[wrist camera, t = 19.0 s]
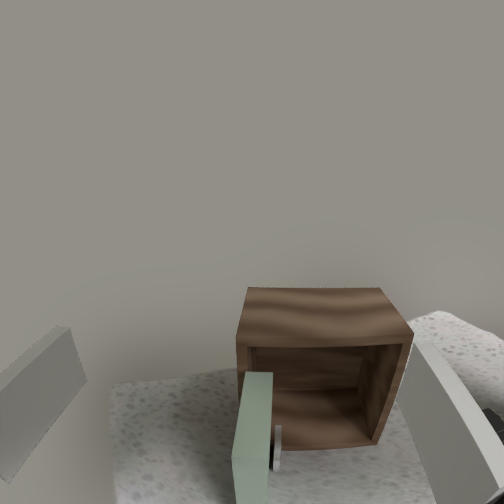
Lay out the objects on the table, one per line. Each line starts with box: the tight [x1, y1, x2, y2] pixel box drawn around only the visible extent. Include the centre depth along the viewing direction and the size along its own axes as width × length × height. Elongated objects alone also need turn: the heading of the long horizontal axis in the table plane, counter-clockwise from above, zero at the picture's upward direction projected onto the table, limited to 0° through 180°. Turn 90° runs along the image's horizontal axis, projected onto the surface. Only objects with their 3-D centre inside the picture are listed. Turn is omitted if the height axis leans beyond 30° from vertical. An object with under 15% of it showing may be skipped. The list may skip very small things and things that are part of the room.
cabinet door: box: [231, 372, 273, 504], centre depth 28 cm, size 12×3×16 cm, turn 175°
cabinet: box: [236, 287, 414, 472], centre depth 38 cm, size 18×20×20 cm
